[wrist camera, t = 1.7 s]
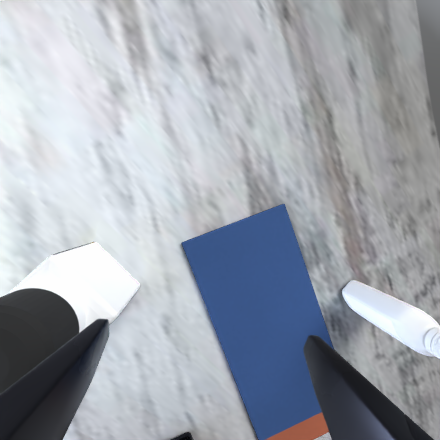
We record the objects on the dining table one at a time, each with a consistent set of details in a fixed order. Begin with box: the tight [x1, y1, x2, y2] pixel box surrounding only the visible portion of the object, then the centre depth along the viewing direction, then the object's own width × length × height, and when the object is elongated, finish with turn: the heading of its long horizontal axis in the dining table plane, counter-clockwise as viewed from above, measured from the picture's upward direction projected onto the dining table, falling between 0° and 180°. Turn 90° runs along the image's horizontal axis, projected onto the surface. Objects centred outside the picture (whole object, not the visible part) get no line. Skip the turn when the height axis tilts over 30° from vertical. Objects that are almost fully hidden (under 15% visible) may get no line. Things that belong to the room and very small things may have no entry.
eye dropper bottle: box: [342, 280, 440, 359], centre depth 20 cm, size 4×6×12 cm
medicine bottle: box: [0, 242, 140, 394], centre depth 17 cm, size 7×7×12 cm
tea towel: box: [182, 204, 334, 440], centre depth 25 cm, size 30×13×1 cm, turn 20°
